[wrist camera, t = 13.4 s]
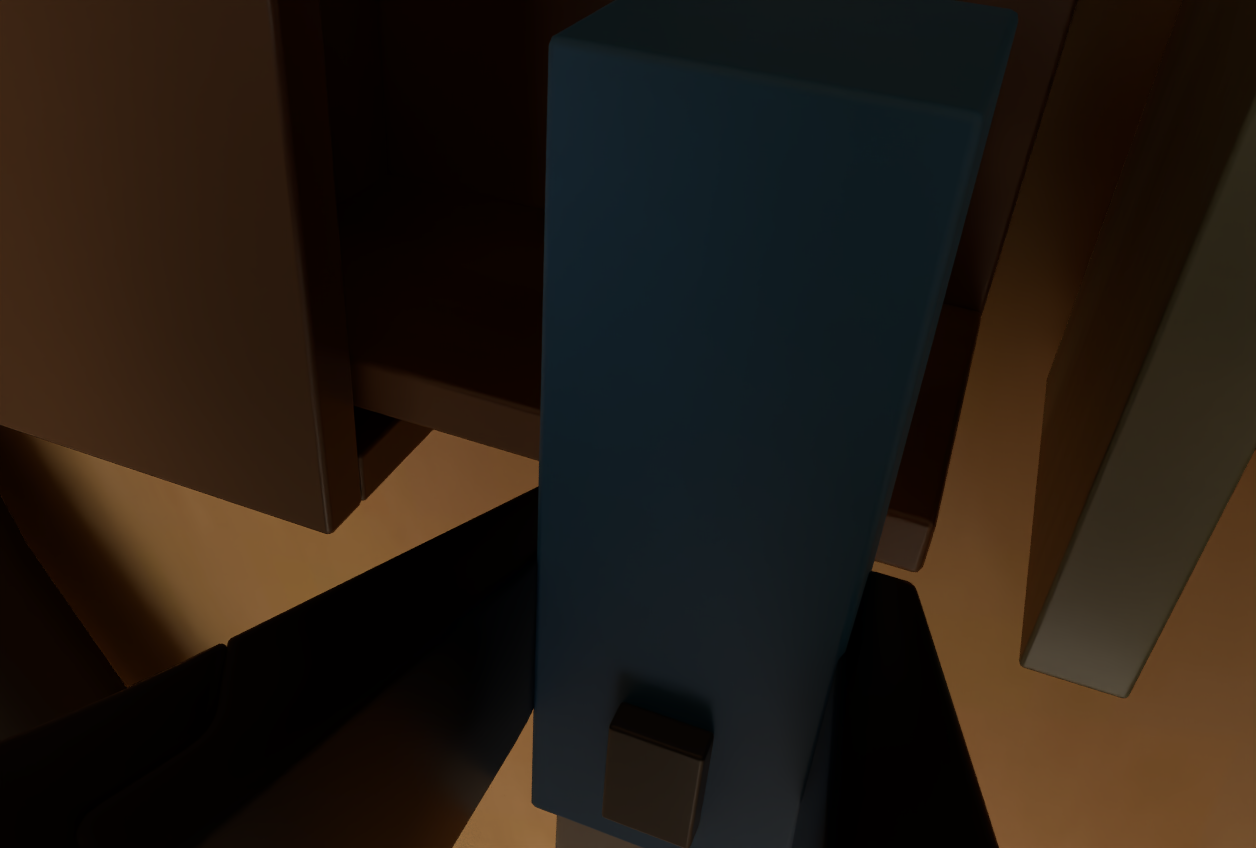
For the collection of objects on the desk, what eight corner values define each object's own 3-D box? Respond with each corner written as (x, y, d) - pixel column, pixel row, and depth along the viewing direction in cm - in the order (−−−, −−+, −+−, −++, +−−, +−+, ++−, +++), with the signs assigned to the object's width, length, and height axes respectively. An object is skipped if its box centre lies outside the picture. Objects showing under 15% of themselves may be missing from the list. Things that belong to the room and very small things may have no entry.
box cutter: (681, -45, 8) (520, 48, 6) (1022, 8, 7) (979, 133, 5) (610, 775, 13) (513, 976, 11) (798, 844, 13) (733, 1072, 11)
